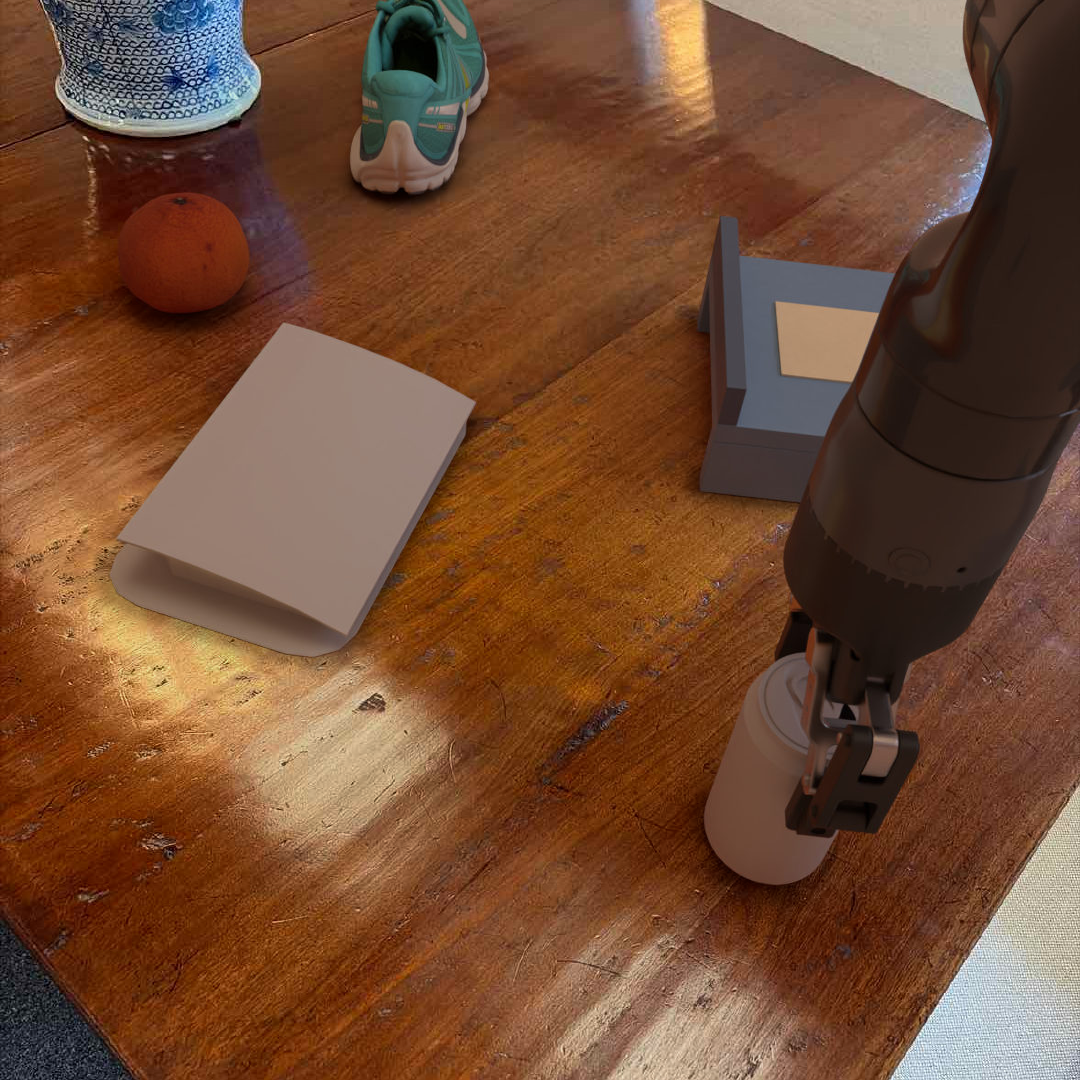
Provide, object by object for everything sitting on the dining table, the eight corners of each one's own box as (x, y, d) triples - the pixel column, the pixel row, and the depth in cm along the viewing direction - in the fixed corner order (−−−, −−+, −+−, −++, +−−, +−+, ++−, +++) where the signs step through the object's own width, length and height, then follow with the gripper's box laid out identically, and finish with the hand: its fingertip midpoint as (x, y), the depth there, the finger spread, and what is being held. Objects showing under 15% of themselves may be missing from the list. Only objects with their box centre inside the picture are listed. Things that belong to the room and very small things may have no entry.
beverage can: (740, 910, 58) (800, 787, 49) (678, 801, 62) (723, 667, 53) (848, 865, 60) (924, 739, 52) (781, 762, 64) (842, 627, 55)
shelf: (882, 340, 89) (921, 238, 83) (913, 516, 77) (961, 413, 71) (697, 319, 89) (720, 215, 82) (699, 491, 77) (726, 386, 70)
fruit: (229, 248, 90) (216, 153, 84) (269, 317, 85) (258, 220, 79) (111, 274, 87) (89, 177, 81) (145, 347, 82) (124, 249, 76)
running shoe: (489, 45, 115) (496, -79, 106) (483, 215, 96) (490, 81, 87) (373, 37, 114) (370, -89, 106) (343, 206, 95) (337, 70, 87)
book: (90, 590, 68) (75, 545, 65) (273, 351, 83) (268, 305, 80) (338, 671, 66) (334, 628, 63) (480, 409, 81) (483, 365, 78)
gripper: (1061, 675, 38) (900, 896, 50) (985, 381, 47) (865, 627, 60) (827, 647, 38) (723, 876, 50) (798, 359, 47) (716, 610, 59)
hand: (801, 741), depth 55 cm, fingers open, 8 cm apart
